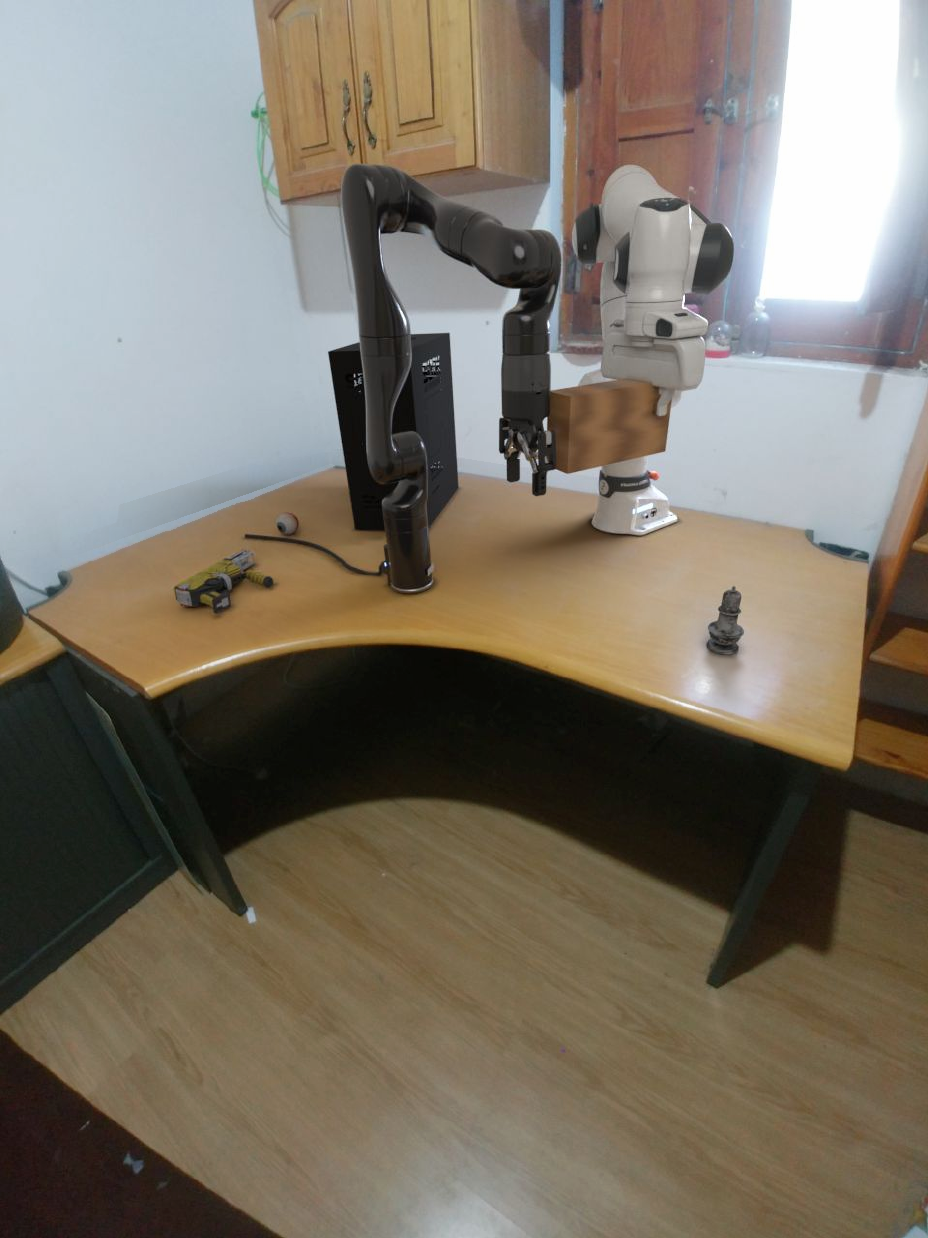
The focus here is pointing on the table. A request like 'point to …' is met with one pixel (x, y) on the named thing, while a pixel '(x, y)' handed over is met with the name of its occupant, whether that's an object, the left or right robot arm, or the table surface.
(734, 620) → the dark grey chess piece
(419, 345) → the cardboard box
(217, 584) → the toy gun
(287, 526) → the eyeball
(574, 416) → the box
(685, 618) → the table surface
